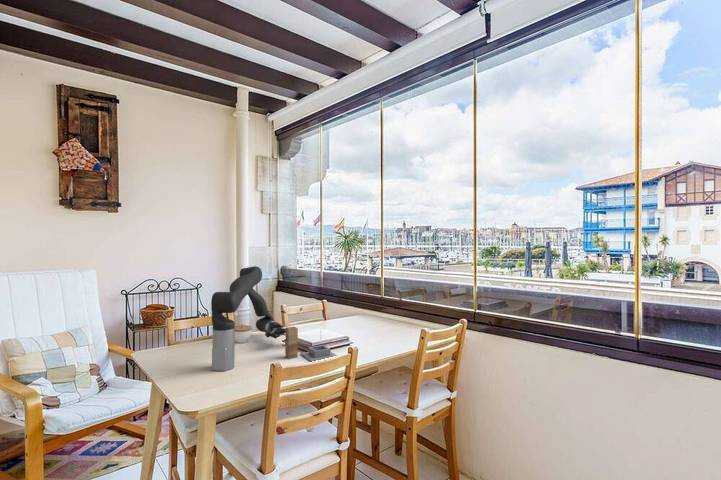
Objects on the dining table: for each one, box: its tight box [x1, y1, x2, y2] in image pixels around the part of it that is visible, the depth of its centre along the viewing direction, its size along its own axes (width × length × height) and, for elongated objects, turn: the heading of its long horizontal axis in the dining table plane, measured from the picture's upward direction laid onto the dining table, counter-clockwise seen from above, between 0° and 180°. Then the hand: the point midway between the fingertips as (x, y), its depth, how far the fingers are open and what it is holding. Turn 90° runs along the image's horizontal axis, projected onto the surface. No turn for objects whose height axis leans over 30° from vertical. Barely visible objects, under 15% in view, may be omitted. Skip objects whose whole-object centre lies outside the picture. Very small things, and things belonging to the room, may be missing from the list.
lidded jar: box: [235, 323, 253, 344], centre depth 214 cm, size 11×11×9 cm
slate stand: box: [299, 344, 338, 363], centre depth 189 cm, size 14×14×4 cm
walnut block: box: [284, 326, 299, 360], centre depth 187 cm, size 4×4×14 cm
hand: (284, 335), depth 197 cm, fingers open, 8 cm apart
